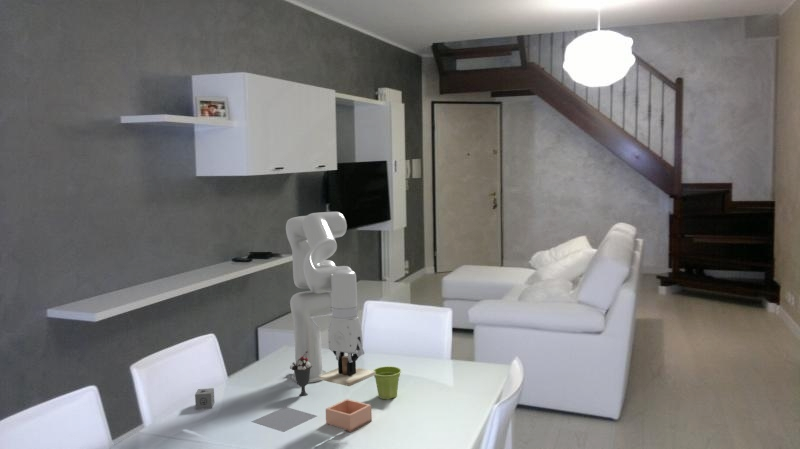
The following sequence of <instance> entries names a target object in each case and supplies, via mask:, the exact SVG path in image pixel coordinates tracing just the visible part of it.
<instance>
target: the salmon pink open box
mask: <svg viewBox="0 0 800 449" xmlns="http://www.w3.org/2000/svg"><path fill="white" fill-rule="evenodd" d="M372 418H373V417H372V405H371V404H369V403H364V402H360V401H357V400H353V399H349V398H346V399H344V400H342V401H339V402H337V403H335V404H333V405H331V406H328V407H327V408H325V423H326V424H327V425H331V426H333V427H337V428H341V429H344V430H343V431H344V432H348V433H352V432H355V431H356V430H359V429H360V428H361V427H363V426H365V425H367V424H370V423H371V422H373V419H372Z"/></svg>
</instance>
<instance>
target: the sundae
mask: <svg viewBox="0 0 800 449" xmlns="http://www.w3.org/2000/svg"><path fill="white" fill-rule="evenodd" d="M306 354H307V352H306ZM304 355H305V354H304ZM295 362H296V361H295ZM292 363H293V362H292ZM293 365H294V366H293V367H292V369H291V370H292V371H295V376H296V381H297V382H296V381H295V382H296V383H297V385H298V386H300V388H301V391H300V393H299V394H298V395H299V397H306V396H308V393H307V392H306V386H307V385H308V384H309V377H310V369H311V367H312V366H311V365H310V363H309V362H308V359H307V357H306V358H305V359H304V357H301V358H300V359H298V360H297V362H296V365H295V364H294V363H293Z"/></svg>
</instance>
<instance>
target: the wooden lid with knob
mask: <svg viewBox="0 0 800 449" xmlns="http://www.w3.org/2000/svg"><path fill="white" fill-rule="evenodd" d="M347 362H349V361H348V355H345V356H343V357H342V374H339V373H338V367H337V368H335V369H333V370H330V371H326V373H324V374H322V375H319V376H318V379H319V380H320V381H324V382H329V383H333V384H337V385H342V386H345V387H351V386H353V385H356V384H358V383H361V382H362V381H365V380H367V379H369V378H372V377H374V375H376V371H373V370H370V369H364V368H360V367H356V373H355V374H353V375H351V376H348V375H347Z"/></svg>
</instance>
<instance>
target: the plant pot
mask: <svg viewBox="0 0 800 449" xmlns="http://www.w3.org/2000/svg"><path fill="white" fill-rule="evenodd" d="M372 371H376V375H374V376H373V377H374V380H375V383H376V389H377V390H376V391H377V395H378V397H379V398H380V399H382V400H391V399H392V398H393V399H394V398H396V397H397V396H398V388H399V380H400V379H399V378H400V376H401V373H402V369H401V368H399V367H396V366H389V365H388V366H379V367H377V368H375V369H373V370H372Z"/></svg>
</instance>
